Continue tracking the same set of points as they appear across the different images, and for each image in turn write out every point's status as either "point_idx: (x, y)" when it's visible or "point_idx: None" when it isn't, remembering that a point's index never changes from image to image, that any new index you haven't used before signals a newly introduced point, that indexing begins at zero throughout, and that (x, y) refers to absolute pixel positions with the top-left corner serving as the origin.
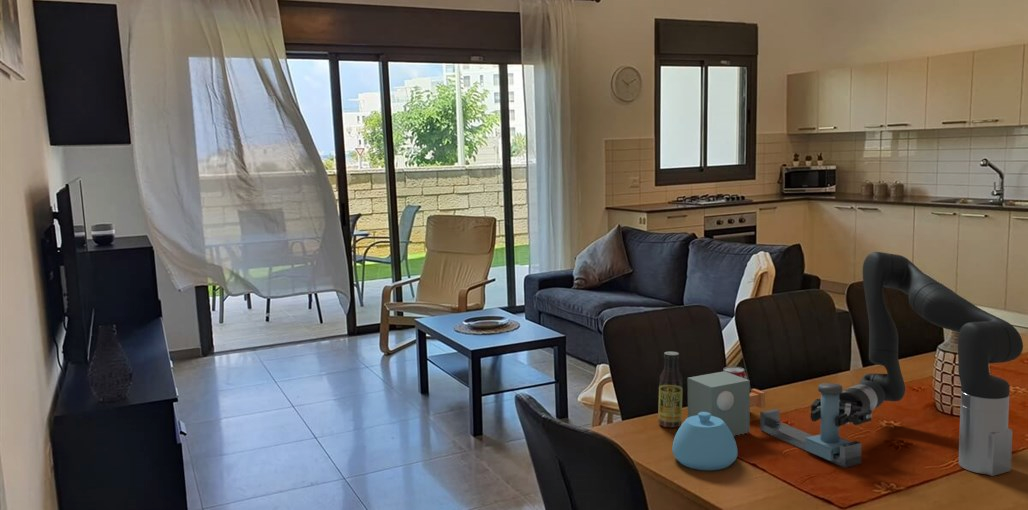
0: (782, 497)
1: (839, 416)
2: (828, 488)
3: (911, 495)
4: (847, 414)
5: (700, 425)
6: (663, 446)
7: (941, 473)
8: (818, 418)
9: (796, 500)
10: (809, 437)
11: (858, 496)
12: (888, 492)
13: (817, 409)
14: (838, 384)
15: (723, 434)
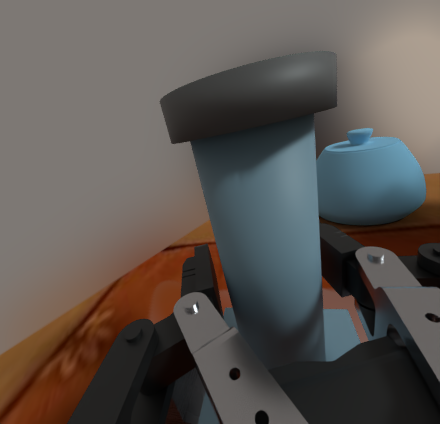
0: (209, 225)
1: (201, 256)
2: (178, 266)
3: (34, 349)
4: (184, 299)
5: (338, 144)
6: (436, 189)
7: None
8: (321, 270)
9: (194, 231)
10: (344, 319)
11: (132, 279)
12: (82, 325)
13: (343, 240)
14: (228, 70)
15: (319, 164)
